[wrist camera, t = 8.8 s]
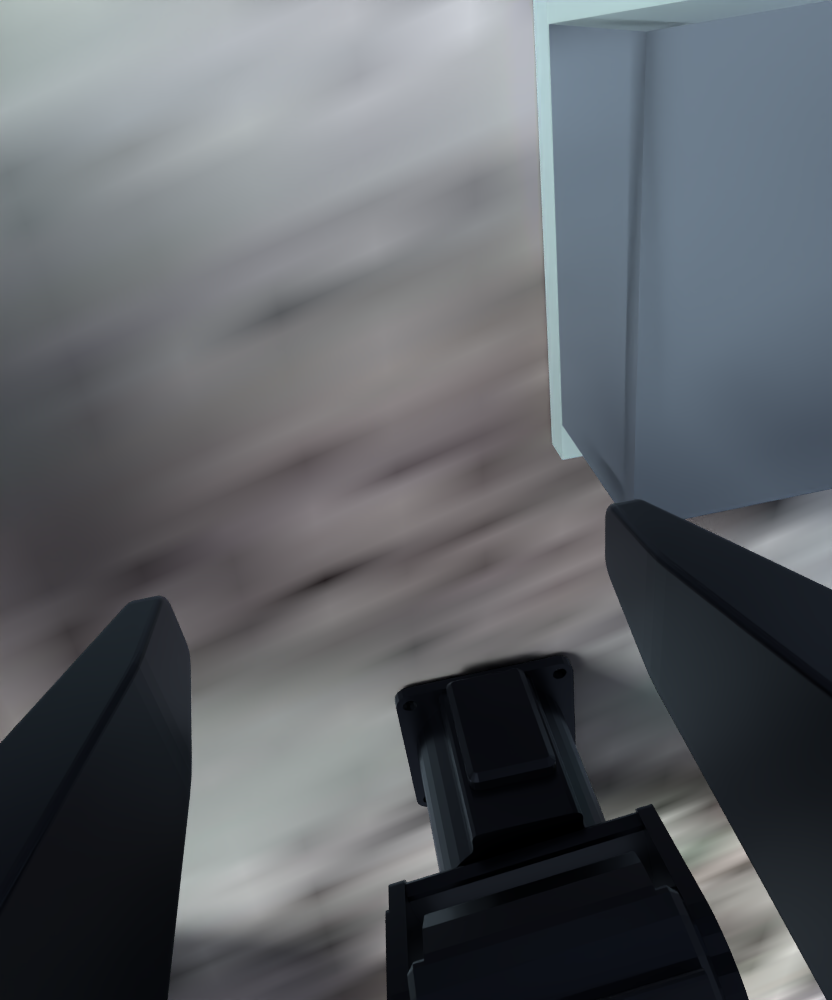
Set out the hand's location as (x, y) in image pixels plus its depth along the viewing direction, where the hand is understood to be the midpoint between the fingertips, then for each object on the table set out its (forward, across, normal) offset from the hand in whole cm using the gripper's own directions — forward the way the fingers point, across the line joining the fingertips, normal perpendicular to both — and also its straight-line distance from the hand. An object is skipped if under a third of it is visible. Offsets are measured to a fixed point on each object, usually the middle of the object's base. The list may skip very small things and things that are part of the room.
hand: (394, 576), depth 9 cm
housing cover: (+11, -10, 0) cm, 15 cm away
